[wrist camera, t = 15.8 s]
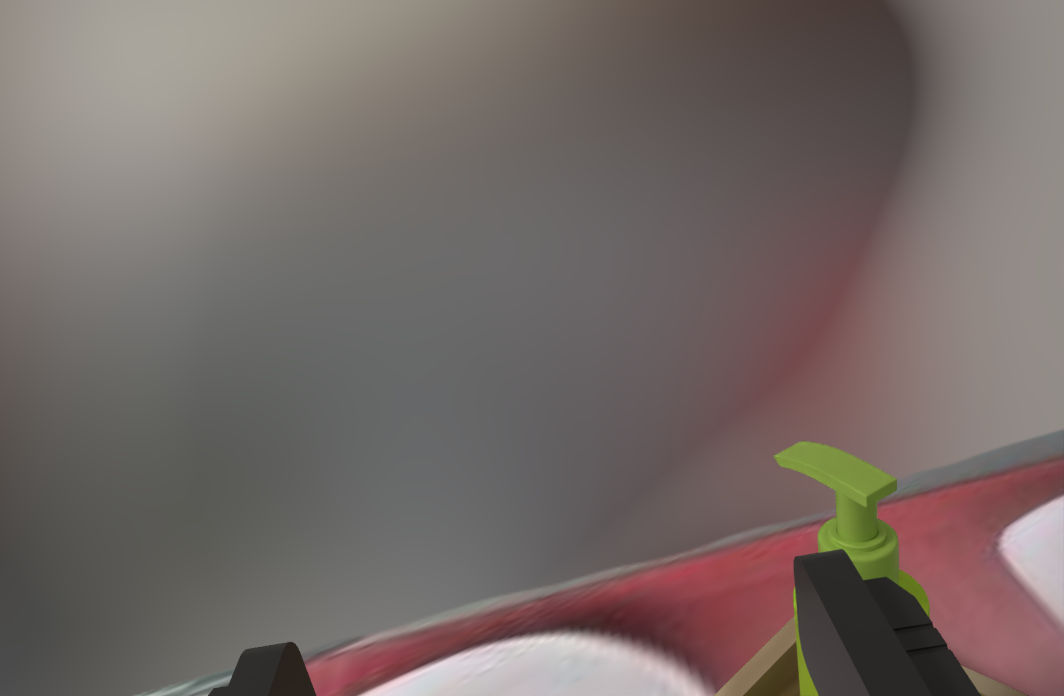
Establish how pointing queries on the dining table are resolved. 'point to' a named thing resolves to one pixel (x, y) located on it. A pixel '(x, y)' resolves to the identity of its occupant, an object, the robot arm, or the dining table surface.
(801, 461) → the soap dispenser
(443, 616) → the dining table surface
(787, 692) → the open square wooden frame
